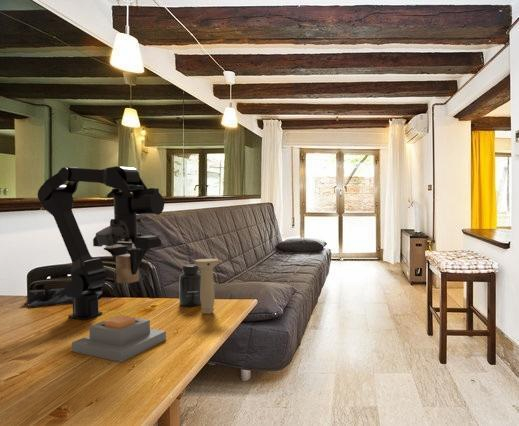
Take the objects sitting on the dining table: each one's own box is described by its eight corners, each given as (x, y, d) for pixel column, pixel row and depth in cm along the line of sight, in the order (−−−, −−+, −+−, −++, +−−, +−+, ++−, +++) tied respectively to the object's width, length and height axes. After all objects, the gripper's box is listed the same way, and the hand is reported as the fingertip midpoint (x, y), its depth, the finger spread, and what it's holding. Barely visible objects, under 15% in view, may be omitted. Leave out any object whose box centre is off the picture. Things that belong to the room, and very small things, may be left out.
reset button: (104, 332, 90) (104, 320, 90) (120, 326, 94) (119, 314, 94) (120, 335, 88) (120, 322, 88) (135, 329, 92) (135, 317, 92)
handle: (220, 314, 115) (219, 260, 114) (197, 316, 112) (196, 262, 112) (216, 309, 119) (216, 258, 118) (194, 311, 117) (193, 259, 116)
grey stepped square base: (72, 351, 88) (71, 328, 88) (120, 331, 101) (120, 311, 101) (121, 362, 82) (120, 337, 82) (166, 339, 95) (165, 318, 94)
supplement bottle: (191, 308, 121) (191, 267, 120) (174, 305, 124) (173, 265, 124) (206, 302, 127) (206, 264, 126) (190, 300, 130) (189, 262, 130)
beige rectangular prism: (116, 282, 107) (115, 255, 107) (127, 279, 111) (126, 253, 111) (128, 283, 106) (127, 256, 105) (139, 280, 109) (138, 254, 109)
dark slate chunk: (100, 303, 130) (100, 288, 129) (22, 310, 123) (21, 294, 123) (103, 292, 144) (103, 279, 144) (33, 298, 138) (33, 284, 138)
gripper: (74, 216, 104) (77, 277, 105) (130, 216, 96) (132, 282, 97) (108, 214, 114) (110, 269, 115) (161, 214, 106) (163, 274, 107)
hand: (127, 273), depth 108 cm, fingers closed on beige rectangular prism, 4 cm apart
